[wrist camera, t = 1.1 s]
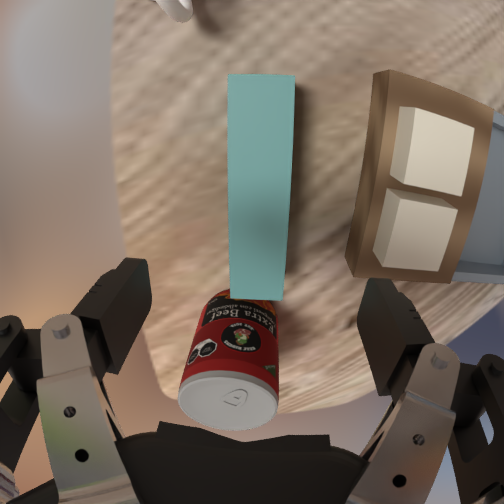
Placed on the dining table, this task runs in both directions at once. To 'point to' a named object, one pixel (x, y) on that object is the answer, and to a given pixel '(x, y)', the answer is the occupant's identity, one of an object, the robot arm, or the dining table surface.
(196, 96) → the dining table surface
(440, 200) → the tile
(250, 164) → the teal rectangular block
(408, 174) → the tile
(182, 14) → the cup
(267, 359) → the canned food
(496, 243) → the tray
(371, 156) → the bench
